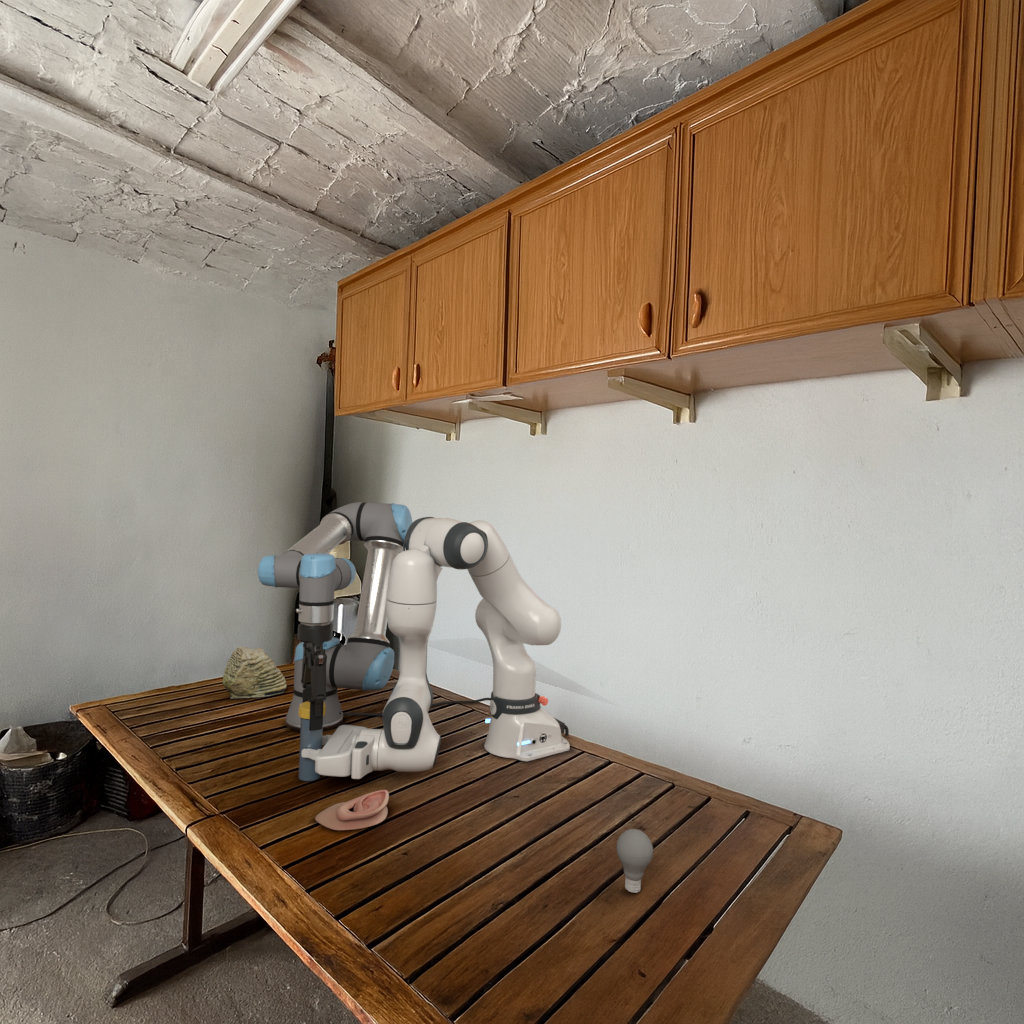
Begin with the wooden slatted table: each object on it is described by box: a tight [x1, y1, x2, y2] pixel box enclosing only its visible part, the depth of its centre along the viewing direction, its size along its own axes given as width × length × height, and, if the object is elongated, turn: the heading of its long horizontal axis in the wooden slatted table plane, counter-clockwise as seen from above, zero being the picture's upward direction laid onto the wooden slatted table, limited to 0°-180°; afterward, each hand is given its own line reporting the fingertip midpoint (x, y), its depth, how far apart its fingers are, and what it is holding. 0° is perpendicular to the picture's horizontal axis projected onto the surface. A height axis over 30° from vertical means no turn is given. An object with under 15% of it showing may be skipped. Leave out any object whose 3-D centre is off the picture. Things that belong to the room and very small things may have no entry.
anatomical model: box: [314, 789, 390, 831], centre depth 126 cm, size 13×4×12 cm
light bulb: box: [615, 828, 654, 894], centre depth 106 cm, size 6×6×10 cm
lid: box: [299, 701, 326, 719], centre depth 143 cm, size 6×6×2 cm
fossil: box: [222, 646, 288, 699], centre depth 198 cm, size 9×18×15 cm, turn 132°
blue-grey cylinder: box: [298, 718, 324, 782], centre depth 143 cm, size 5×5×16 cm
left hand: (311, 723), depth 143 cm, fingers open, 8 cm apart
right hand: (306, 746), depth 143 cm, fingers closed on blue-grey cylinder, 5 cm apart
